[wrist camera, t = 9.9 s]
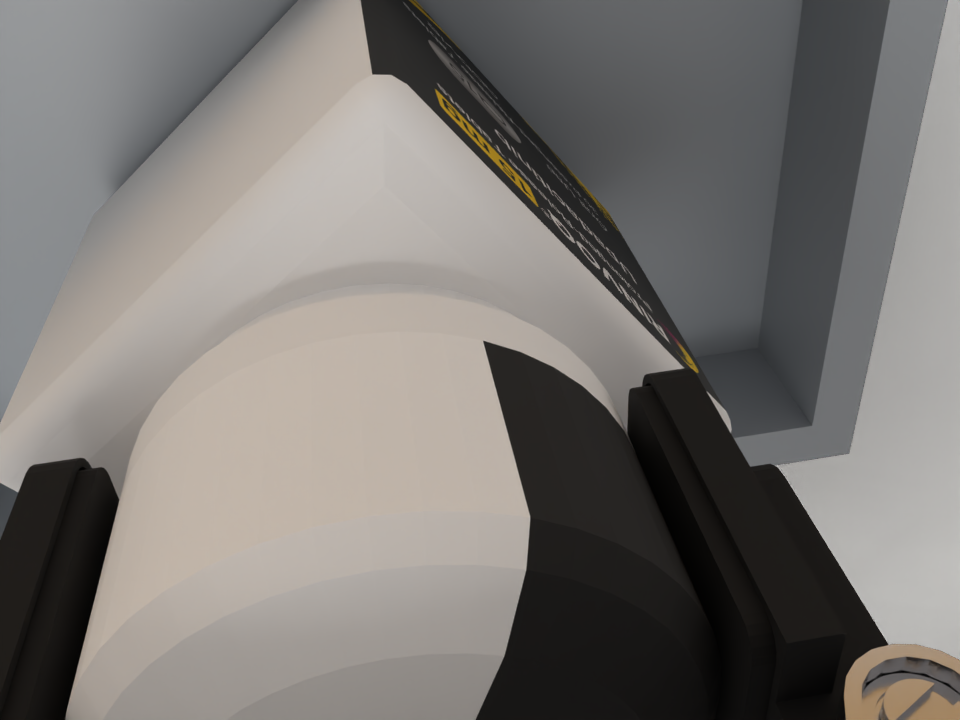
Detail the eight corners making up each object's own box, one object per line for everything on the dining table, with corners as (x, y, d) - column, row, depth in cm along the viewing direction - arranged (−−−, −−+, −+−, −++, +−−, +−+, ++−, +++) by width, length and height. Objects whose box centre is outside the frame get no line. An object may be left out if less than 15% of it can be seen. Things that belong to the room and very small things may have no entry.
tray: (867, -250, 16) (999, -241, 13) (779, 356, 24) (849, 453, 20) (-350, -133, 14) (-529, -91, 11) (-25, 477, 22) (-80, 601, 19)
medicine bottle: (614, 215, 18) (947, 769, 9) (363, 423, 21) (406, 1057, 11) (357, -68, 15) (436, 340, 5) (84, 219, 17) (-229, 898, 7)
